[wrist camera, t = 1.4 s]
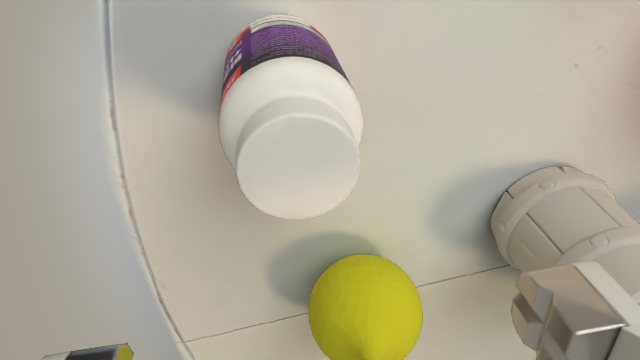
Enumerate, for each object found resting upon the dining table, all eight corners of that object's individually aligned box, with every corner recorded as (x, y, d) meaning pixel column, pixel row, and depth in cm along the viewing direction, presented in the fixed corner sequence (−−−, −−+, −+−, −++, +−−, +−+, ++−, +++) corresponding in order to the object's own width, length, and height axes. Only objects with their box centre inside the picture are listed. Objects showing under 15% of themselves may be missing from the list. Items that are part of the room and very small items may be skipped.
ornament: (328, 220, 28) (363, 360, 19) (421, 244, 30) (487, 378, 22) (287, 296, 31) (302, 444, 23) (373, 312, 33) (416, 451, 25)
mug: (582, 139, 27) (780, 283, 17) (612, 251, 33) (768, 404, 23) (470, 200, 28) (591, 366, 18) (519, 296, 35) (629, 458, 25)
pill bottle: (216, 16, 20) (196, 99, 12) (332, 8, 21) (387, 82, 13) (233, 122, 23) (227, 246, 15) (334, 113, 24) (380, 228, 16)
